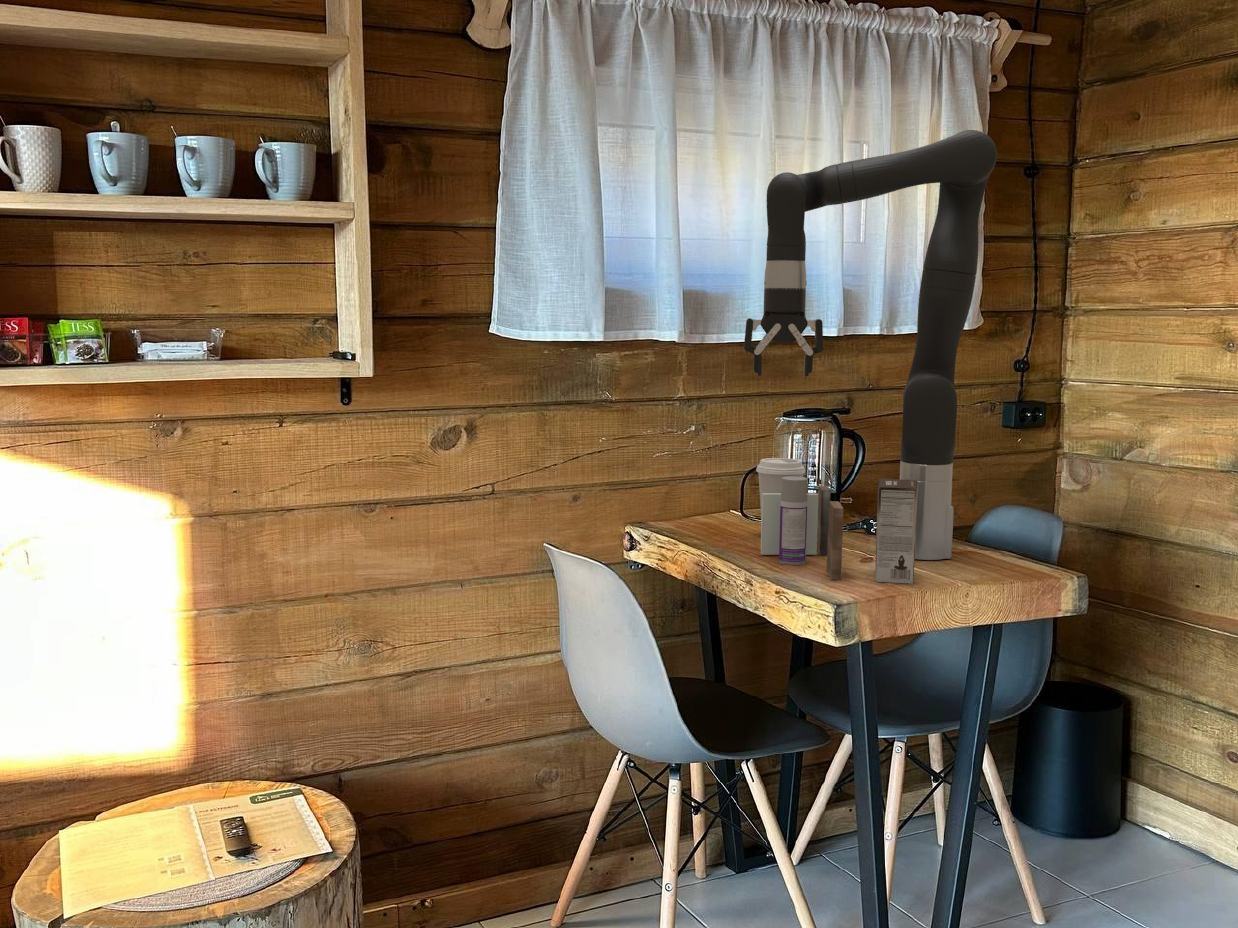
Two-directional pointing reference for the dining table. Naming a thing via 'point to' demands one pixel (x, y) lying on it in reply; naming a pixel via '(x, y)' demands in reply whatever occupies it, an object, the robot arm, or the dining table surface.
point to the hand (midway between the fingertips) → (782, 375)
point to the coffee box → (896, 530)
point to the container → (793, 521)
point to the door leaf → (772, 523)
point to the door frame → (830, 532)
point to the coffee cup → (776, 473)
